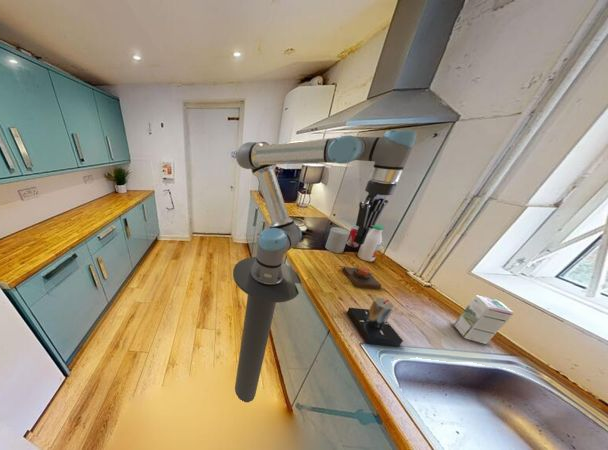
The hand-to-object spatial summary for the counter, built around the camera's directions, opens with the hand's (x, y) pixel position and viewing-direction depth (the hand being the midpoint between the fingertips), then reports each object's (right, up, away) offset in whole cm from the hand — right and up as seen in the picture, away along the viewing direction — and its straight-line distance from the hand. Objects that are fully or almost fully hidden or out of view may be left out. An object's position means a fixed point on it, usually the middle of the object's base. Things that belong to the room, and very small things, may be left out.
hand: (358, 242), depth 75 cm
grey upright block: (0, -27, -8) cm, 28 cm away
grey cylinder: (+18, -8, +43) cm, 48 cm away
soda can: (+32, -6, +47) cm, 58 cm away
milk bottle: (+31, -12, +35) cm, 48 cm away
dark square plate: (+14, -19, +18) cm, 30 cm away
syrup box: (+32, -31, -7) cm, 46 cm away
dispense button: (+15, -16, +16) cm, 27 cm away
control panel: (-1, -30, -6) cm, 30 cm away
